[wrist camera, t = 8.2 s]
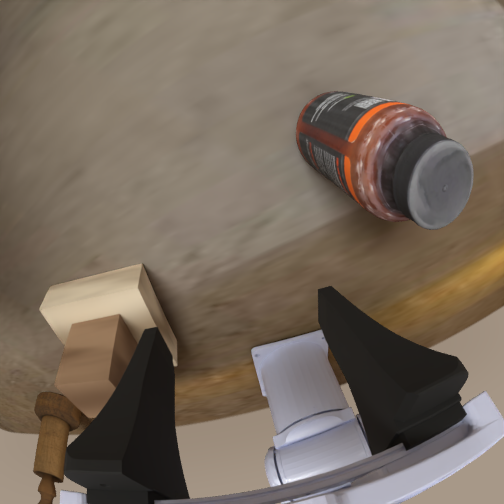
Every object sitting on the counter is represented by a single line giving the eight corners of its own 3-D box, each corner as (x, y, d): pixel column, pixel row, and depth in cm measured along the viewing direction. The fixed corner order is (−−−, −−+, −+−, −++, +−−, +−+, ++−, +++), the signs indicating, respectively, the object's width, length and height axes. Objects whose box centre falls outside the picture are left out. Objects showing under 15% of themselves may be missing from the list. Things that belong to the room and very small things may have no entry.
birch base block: (177, 340, 28) (177, 365, 25) (95, 354, 27) (90, 378, 24) (142, 263, 23) (137, 287, 20) (50, 286, 22) (38, 309, 19)
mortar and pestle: (59, 388, 29) (42, 523, 14) (91, 414, 33) (85, 536, 18) (28, 394, 29) (8, 512, 14) (59, 418, 33) (48, 528, 18)
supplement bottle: (337, 185, 22) (431, 272, 13) (275, 140, 20) (357, 209, 10) (383, 124, 20) (500, 177, 11) (326, 72, 18) (447, 85, 8)
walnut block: (143, 351, 23) (139, 413, 18) (98, 359, 23) (88, 418, 18) (119, 313, 21) (108, 379, 16) (71, 323, 21) (54, 385, 16)
